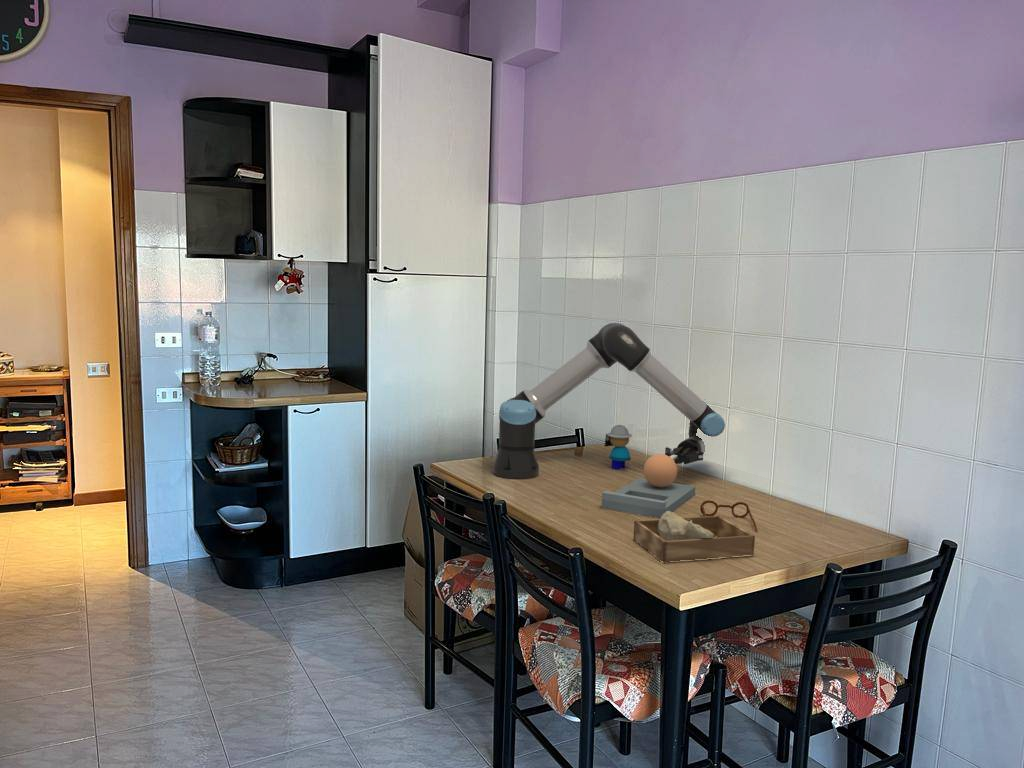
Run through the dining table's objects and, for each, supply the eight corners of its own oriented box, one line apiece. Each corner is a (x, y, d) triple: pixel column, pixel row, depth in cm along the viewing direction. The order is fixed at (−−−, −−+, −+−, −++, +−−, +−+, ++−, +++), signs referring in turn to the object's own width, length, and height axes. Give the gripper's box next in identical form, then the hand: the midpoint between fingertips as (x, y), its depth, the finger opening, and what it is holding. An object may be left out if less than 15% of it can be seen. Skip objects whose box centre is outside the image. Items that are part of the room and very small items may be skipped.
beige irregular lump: (655, 546, 201) (642, 523, 189) (671, 522, 203) (659, 498, 191) (708, 577, 192) (697, 555, 180) (724, 553, 194) (715, 529, 182)
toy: (612, 463, 279) (614, 421, 277) (634, 467, 273) (637, 425, 272) (600, 468, 272) (602, 424, 270) (623, 472, 267) (625, 428, 265)
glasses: (747, 519, 219) (749, 501, 218) (758, 534, 206) (759, 515, 205) (699, 516, 220) (700, 499, 219) (706, 531, 207) (707, 512, 207)
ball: (637, 483, 243) (638, 451, 241) (666, 482, 245) (668, 450, 244) (651, 492, 233) (653, 458, 232) (682, 490, 236) (684, 457, 234)
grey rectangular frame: (638, 485, 250) (639, 471, 249) (695, 494, 241) (695, 480, 241) (601, 508, 224) (602, 492, 223) (663, 519, 215) (663, 502, 215)
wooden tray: (633, 540, 197) (634, 520, 196) (717, 534, 203) (718, 515, 203) (663, 563, 181) (664, 542, 181) (753, 556, 188) (754, 536, 187)
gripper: (709, 463, 262) (688, 478, 242) (671, 458, 269) (647, 471, 248) (710, 441, 261) (689, 453, 241) (672, 436, 268) (648, 448, 247)
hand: (668, 463), depth 245 cm, fingers closed
